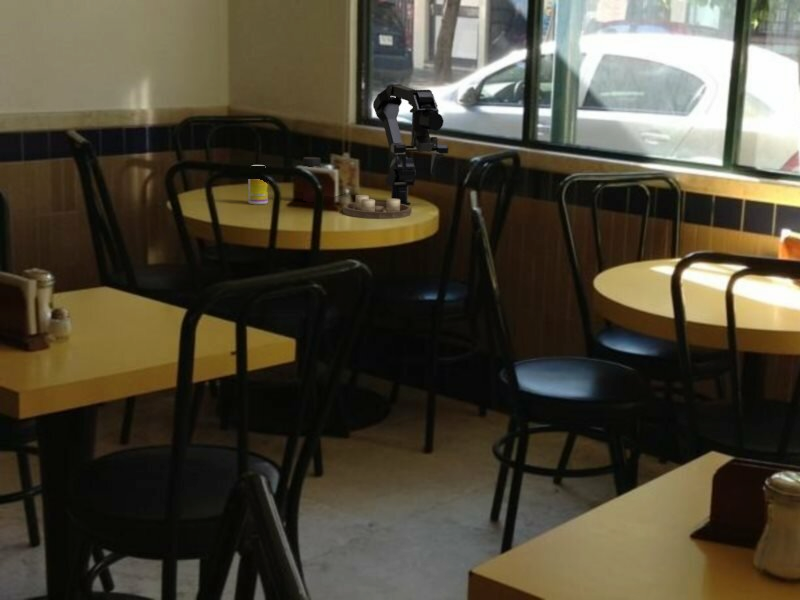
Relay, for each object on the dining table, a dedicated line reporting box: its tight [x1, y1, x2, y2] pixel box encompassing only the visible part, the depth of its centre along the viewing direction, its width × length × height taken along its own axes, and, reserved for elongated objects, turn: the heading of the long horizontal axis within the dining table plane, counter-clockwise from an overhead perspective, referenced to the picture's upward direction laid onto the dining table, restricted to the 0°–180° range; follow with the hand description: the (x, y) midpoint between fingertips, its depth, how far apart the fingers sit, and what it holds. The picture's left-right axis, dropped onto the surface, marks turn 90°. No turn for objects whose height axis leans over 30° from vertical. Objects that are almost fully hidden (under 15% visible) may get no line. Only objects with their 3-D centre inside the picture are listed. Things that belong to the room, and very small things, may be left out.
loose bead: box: [354, 194, 370, 211], centre depth 424 cm, size 4×4×5 cm
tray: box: [342, 201, 413, 220], centre depth 422 cm, size 22×22×3 cm
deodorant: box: [302, 156, 322, 167], centre depth 444 cm, size 6×6×15 cm
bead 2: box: [386, 198, 400, 212], centre depth 418 cm, size 4×4×5 cm
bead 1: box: [361, 198, 376, 212], centre depth 416 cm, size 4×4×5 cm
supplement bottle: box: [247, 164, 269, 206], centre depth 437 cm, size 7×7×13 cm
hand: (418, 173), depth 434 cm, fingers open, 9 cm apart
